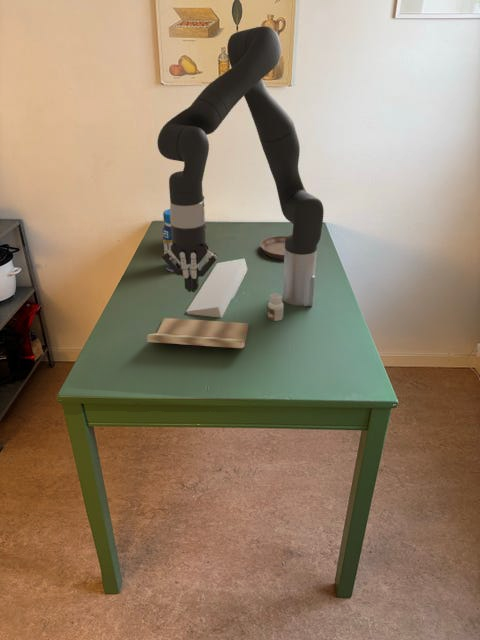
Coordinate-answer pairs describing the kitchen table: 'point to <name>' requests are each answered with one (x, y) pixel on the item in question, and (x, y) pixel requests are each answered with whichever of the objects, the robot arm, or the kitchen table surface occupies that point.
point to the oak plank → (196, 340)
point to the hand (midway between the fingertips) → (192, 290)
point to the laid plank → (204, 328)
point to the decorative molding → (219, 289)
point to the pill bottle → (275, 307)
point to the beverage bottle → (167, 236)
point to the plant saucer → (274, 246)
